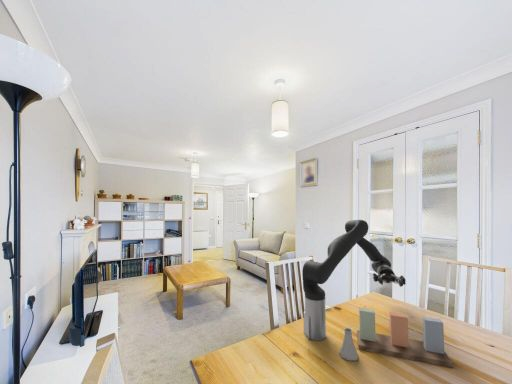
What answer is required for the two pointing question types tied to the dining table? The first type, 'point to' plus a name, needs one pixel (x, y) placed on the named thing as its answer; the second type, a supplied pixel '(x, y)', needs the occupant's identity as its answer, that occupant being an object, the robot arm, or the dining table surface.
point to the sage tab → (367, 324)
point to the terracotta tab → (399, 329)
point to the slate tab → (433, 335)
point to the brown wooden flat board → (403, 350)
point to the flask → (348, 347)
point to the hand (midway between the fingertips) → (391, 283)
